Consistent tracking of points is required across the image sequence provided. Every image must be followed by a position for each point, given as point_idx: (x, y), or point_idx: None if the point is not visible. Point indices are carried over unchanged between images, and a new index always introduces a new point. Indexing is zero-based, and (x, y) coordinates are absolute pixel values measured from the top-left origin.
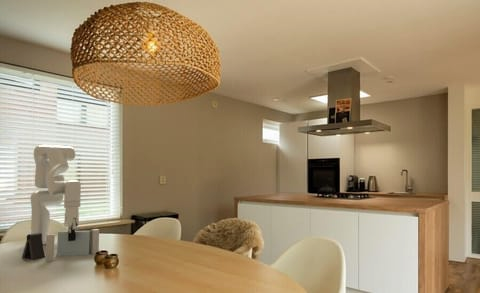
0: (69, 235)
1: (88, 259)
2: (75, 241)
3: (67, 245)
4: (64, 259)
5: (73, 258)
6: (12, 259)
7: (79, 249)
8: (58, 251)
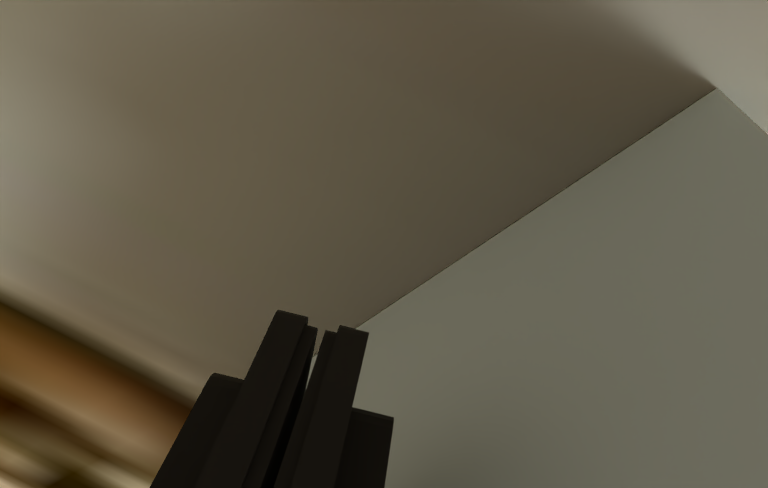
0: (215, 446)
1: (21, 239)
2: (394, 451)
3: (550, 307)
4: (261, 21)
5: (221, 150)
6: None
7: (363, 368)
8: (710, 131)
